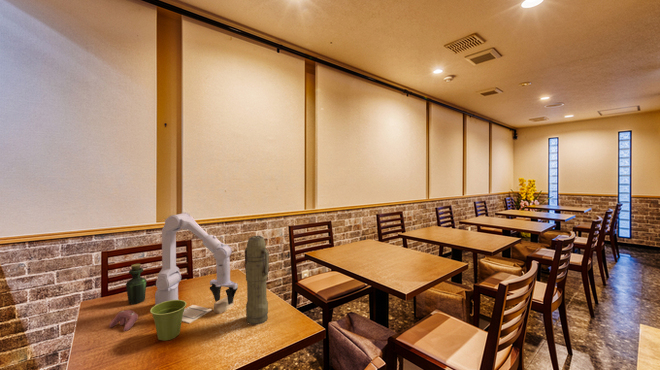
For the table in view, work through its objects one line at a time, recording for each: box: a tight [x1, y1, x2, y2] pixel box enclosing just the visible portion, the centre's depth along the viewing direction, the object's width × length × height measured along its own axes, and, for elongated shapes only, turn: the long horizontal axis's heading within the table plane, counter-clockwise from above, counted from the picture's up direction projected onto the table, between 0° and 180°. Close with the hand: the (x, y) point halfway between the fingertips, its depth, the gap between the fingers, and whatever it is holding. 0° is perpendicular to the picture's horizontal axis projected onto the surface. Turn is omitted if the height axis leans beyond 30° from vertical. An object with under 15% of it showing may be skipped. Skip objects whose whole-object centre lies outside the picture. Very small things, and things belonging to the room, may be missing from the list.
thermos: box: [244, 235, 270, 326], centre depth 114 cm, size 9×12×35 cm
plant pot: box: [149, 299, 187, 342], centre depth 103 cm, size 12×12×11 cm
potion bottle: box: [125, 263, 147, 305], centre depth 131 cm, size 8×8×18 cm
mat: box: [182, 304, 213, 324], centre depth 119 cm, size 12×12×1 cm
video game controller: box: [108, 309, 139, 332], centre depth 110 cm, size 10×5×7 cm, turn 71°
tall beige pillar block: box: [213, 296, 235, 315], centre depth 124 cm, size 4×8×4 cm, turn 157°
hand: (223, 302), depth 124 cm, fingers open, 7 cm apart
